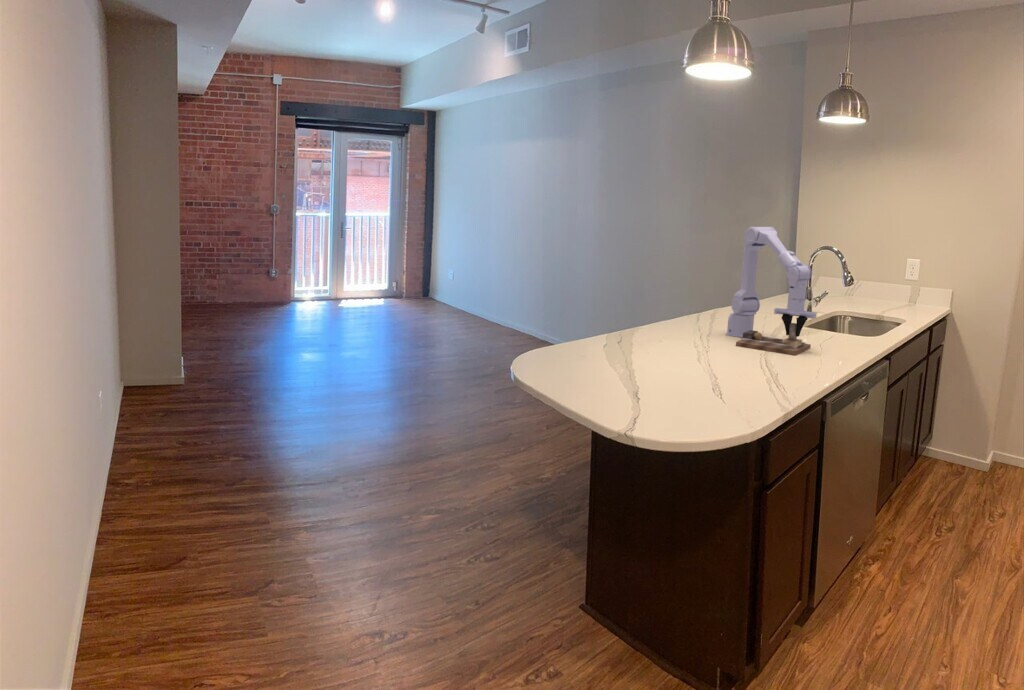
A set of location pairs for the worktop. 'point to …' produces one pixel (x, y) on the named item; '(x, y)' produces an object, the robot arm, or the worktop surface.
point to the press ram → (792, 336)
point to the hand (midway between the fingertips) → (792, 335)
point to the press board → (769, 344)
